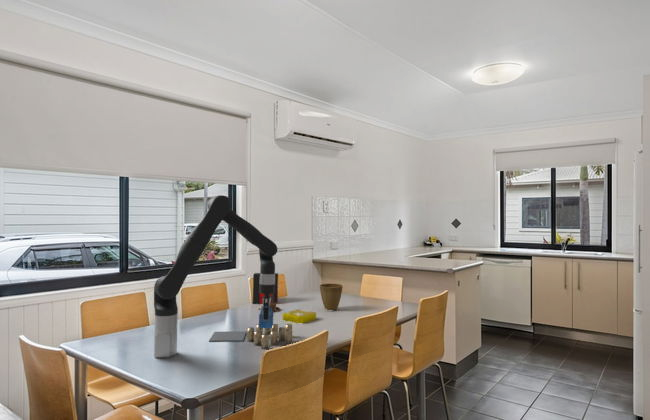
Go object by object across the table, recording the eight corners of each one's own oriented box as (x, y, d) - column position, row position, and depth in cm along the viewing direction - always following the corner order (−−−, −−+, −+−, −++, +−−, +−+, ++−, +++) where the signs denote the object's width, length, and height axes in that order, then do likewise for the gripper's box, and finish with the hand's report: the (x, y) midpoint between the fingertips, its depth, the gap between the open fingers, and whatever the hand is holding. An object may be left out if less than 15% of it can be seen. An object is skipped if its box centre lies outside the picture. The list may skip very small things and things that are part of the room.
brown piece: (287, 311, 272) (287, 302, 273) (263, 317, 257) (264, 307, 257) (268, 307, 284) (268, 299, 284) (244, 312, 268) (244, 303, 268)
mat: (243, 341, 204) (243, 340, 205) (208, 341, 203) (208, 340, 203) (246, 332, 220) (246, 331, 220) (214, 332, 219) (214, 331, 219)
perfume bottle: (273, 325, 210) (273, 300, 210) (271, 328, 203) (272, 302, 204) (260, 324, 209) (261, 300, 210) (258, 328, 203) (259, 302, 203)
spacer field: (292, 349, 193) (292, 335, 194) (244, 349, 192) (244, 336, 192) (291, 332, 222) (292, 320, 222) (249, 332, 220) (250, 321, 220)
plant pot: (319, 307, 285) (320, 283, 285) (342, 307, 285) (342, 283, 285) (318, 312, 270) (319, 286, 271) (342, 312, 270) (342, 287, 270)
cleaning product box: (252, 304, 293) (253, 274, 293) (254, 301, 302) (254, 273, 302) (277, 304, 294) (277, 274, 295) (277, 301, 303) (278, 273, 303)
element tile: (317, 319, 252) (317, 311, 252) (301, 324, 240) (301, 316, 240) (297, 316, 261) (297, 308, 261) (281, 320, 248) (281, 312, 249)
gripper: (274, 285, 200) (273, 321, 200) (275, 280, 214) (274, 314, 214) (258, 285, 199) (257, 321, 199) (260, 280, 214) (259, 314, 213)
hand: (266, 317), depth 206 cm, fingers closed on perfume bottle, 6 cm apart
